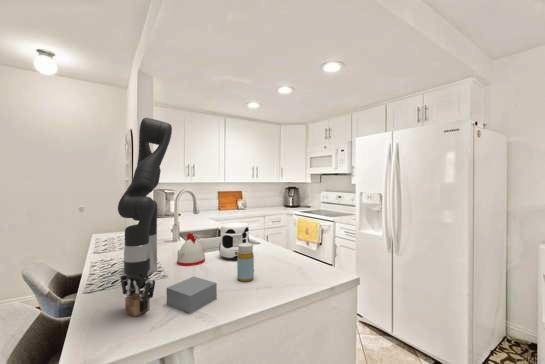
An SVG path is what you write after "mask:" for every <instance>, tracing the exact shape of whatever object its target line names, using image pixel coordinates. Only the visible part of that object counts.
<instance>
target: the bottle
mask: <svg viewBox="0 0 545 364" xmlns="http://www.w3.org/2000/svg"><path fill="white" fill-rule="evenodd" d="M253 246H254V245H253V243H251V242H249V243H241V244H239V245H238V255H237V259H236V261H237V272H236V273H237V277H236V278H237V279H238V281H239V282H241V283H248V282H251V281H253V280H254V278H255V276H254V275H255V274H254V273H255V271H254V270H255V268H254V263H255V262H254V260H255V256H254V251H253V249H254V247H253Z"/></svg>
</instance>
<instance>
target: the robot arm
mask: <svg viewBox="0 0 545 364" xmlns="http://www.w3.org/2000/svg"><path fill="white" fill-rule="evenodd" d="M172 132H173V127H172V125H171V124H170V123H169V122H166V121H161V120H157V119H154V118H151V117H143V119H142V120H141V122H140V125H139V132H138V135H139V136H138V156H137V157H138V158H137V165H136V168H135V169H134V170H135V171H134V173H133V176H132V180H131V182H130V184H129V186H128V187H127V188H126V191H125V192H124V193H123V194H122V196H121V198H120V199H119V201H118V204H117V212H118V215H119V216H120V217H122V218H124V219H132V220H133V221H136V222H137V221H138V222H137V223H136V224H133V225H132V224H131V225H129V226H127V227H126V228H125V229H124V249H123V274H124V275H121V276H120V283H121V289H122V294H123V295H126V297H128V296H130V295H132V294H135V293H137V294H138V295H139V298H140V312H143V313H145V312H147V311H148V310H147V308H148V305H147V304H148V299H149V298H150V299H151V298H153V297H154V291H155V287H156V281H155V280H154V279H152V280H151V279H150V278H149V275H148V274H151V273H154V272H156V271H157V270H158V211H159V210H158V203H157V201H156V200H153V198H152V197H150V196H148V195H149V194H150V193H152V192H153V190H155V188H156V187H157V186H158V185H159V183H160V178H161V177H160V176H161V172H162V171H161V168H160V167H161V164H162V162H163V160H164V157H165V155H166V152H167V150H168V147H169V144H170V141H171V139H172V134H173V133H172ZM150 144H153V145H158V146H157V148H156V149H154V151H153V152H152V149H151V146H150ZM142 293H144V296H143V294H142ZM146 310H147V311H146ZM144 311H145V312H144Z"/></svg>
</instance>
